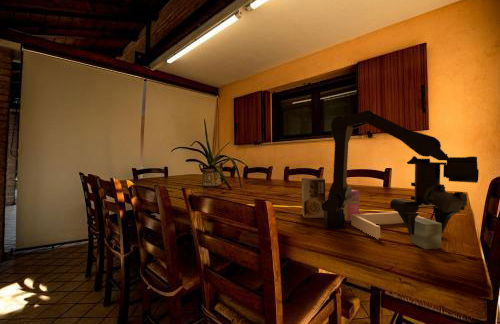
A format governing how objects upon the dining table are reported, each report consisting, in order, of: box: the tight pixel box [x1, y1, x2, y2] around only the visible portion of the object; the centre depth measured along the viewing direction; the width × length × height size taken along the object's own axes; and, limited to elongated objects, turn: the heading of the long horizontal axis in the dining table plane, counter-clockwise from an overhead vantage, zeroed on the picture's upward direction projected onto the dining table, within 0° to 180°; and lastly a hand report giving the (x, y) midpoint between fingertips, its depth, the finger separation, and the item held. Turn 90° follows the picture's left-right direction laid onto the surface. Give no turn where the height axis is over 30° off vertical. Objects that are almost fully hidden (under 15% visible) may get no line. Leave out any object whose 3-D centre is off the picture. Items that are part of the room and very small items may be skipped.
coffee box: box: [301, 177, 326, 219], centre depth 96 cm, size 9×6×16 cm
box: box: [342, 189, 360, 222], centre depth 94 cm, size 10×6×12 cm, turn 17°
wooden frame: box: [350, 211, 436, 240], centre depth 78 cm, size 22×14×4 cm, turn 97°
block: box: [409, 217, 443, 250], centre depth 65 cm, size 5×5×7 cm
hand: (426, 233), depth 65 cm, fingers open, 9 cm apart
